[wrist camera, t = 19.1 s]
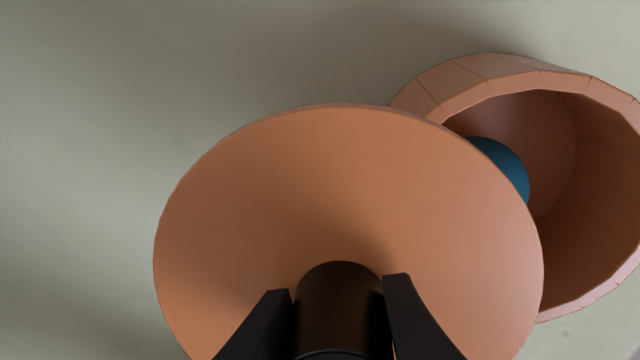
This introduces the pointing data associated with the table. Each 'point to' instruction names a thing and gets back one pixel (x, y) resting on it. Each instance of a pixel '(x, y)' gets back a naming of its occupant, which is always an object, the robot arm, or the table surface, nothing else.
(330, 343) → the pot lid
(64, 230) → the table surface
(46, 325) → the table surface
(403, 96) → the orange round open container
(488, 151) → the ball
